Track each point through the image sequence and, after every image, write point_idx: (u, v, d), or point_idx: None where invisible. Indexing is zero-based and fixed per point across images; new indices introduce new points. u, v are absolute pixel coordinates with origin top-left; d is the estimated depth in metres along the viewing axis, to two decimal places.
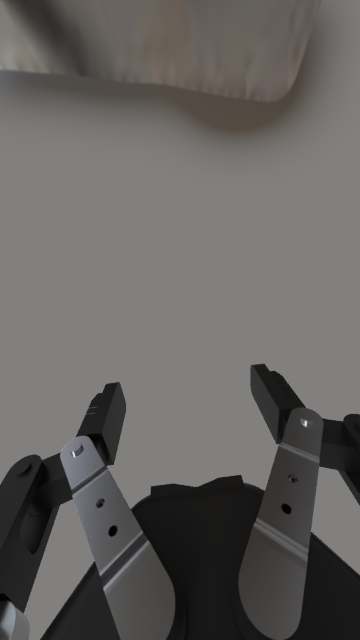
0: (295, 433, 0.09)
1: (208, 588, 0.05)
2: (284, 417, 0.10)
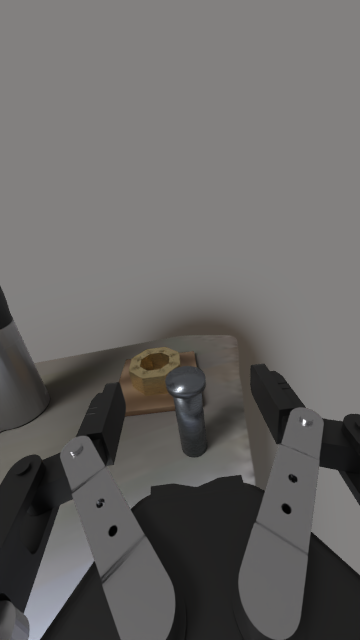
0: (295, 433, 0.09)
1: (208, 588, 0.05)
2: (284, 417, 0.10)
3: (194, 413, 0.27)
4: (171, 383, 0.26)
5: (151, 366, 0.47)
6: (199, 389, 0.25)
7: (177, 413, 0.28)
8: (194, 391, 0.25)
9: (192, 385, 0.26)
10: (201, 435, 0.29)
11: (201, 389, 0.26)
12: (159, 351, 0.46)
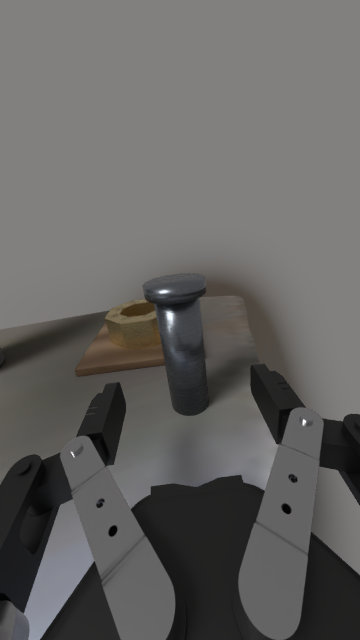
0: (295, 433, 0.09)
1: (208, 588, 0.05)
2: (284, 417, 0.10)
3: (188, 336, 0.17)
4: (152, 285, 0.17)
5: None
6: (196, 288, 0.16)
7: (163, 341, 0.18)
8: (188, 290, 0.15)
9: (185, 284, 0.16)
10: (200, 378, 0.19)
11: (199, 291, 0.16)
12: (146, 301, 0.36)
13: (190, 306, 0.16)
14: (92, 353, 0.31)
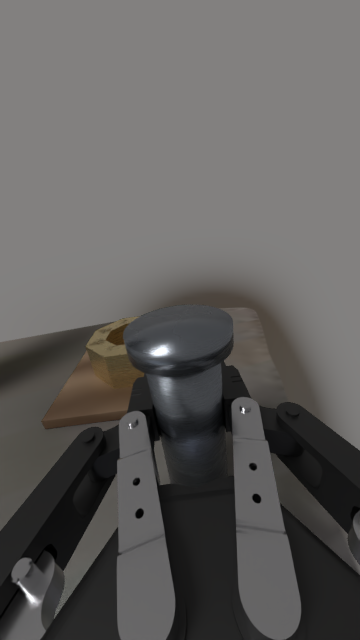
0: (232, 419, 0.09)
1: (208, 588, 0.05)
2: (229, 406, 0.11)
3: (203, 419, 0.10)
4: (139, 335, 0.09)
5: None
6: (220, 346, 0.08)
7: (159, 420, 0.11)
8: (205, 352, 0.08)
9: (198, 337, 0.09)
10: (218, 472, 0.12)
11: (225, 349, 0.09)
12: None
13: (207, 372, 0.09)
14: (68, 391, 0.24)
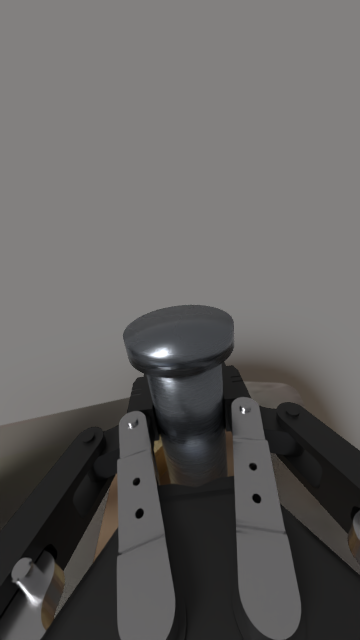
0: (232, 419, 0.09)
1: (208, 588, 0.05)
2: (229, 406, 0.11)
3: (203, 420, 0.10)
4: (139, 335, 0.09)
5: None
6: (221, 347, 0.08)
7: (159, 421, 0.11)
8: (206, 352, 0.08)
9: (199, 337, 0.09)
10: (219, 473, 0.12)
11: (226, 349, 0.09)
12: None
13: (207, 373, 0.09)
14: None
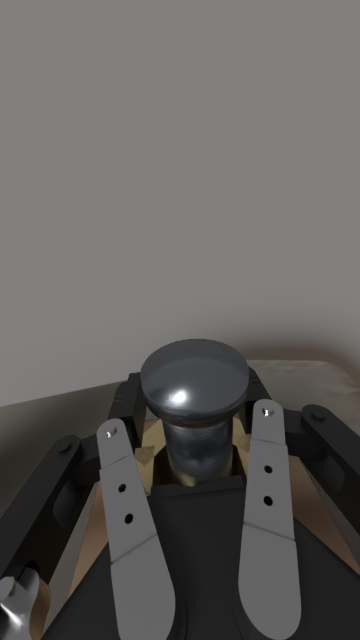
0: (256, 422, 0.09)
1: (208, 589, 0.05)
2: (250, 408, 0.11)
3: (215, 458, 0.10)
4: (156, 379, 0.10)
5: None
6: (238, 399, 0.09)
7: (170, 454, 0.11)
8: (224, 406, 0.08)
9: (216, 387, 0.09)
10: None
11: (242, 399, 0.09)
12: None
13: None
14: None
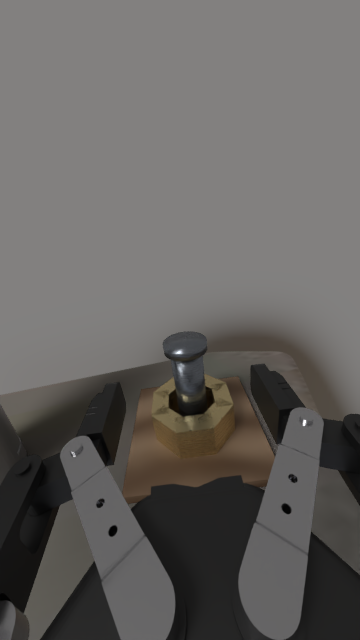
0: (295, 433, 0.09)
1: (208, 588, 0.05)
2: (284, 417, 0.10)
3: (194, 380, 0.24)
4: (169, 345, 0.24)
5: None
6: (200, 350, 0.23)
7: (176, 382, 0.25)
8: (194, 352, 0.22)
9: (192, 347, 0.23)
10: (202, 408, 0.26)
11: (202, 351, 0.23)
12: None
13: (196, 360, 0.24)
14: (136, 460, 0.25)
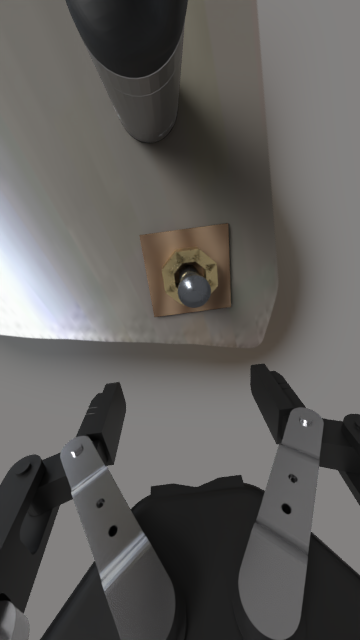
0: (295, 433, 0.09)
1: (208, 588, 0.05)
2: (284, 417, 0.10)
3: None
4: (189, 281, 0.32)
5: None
6: (182, 302, 0.33)
7: (184, 275, 0.36)
8: None
9: (185, 298, 0.33)
10: None
11: (184, 303, 0.33)
12: (209, 280, 0.40)
13: None
14: (160, 238, 0.40)
